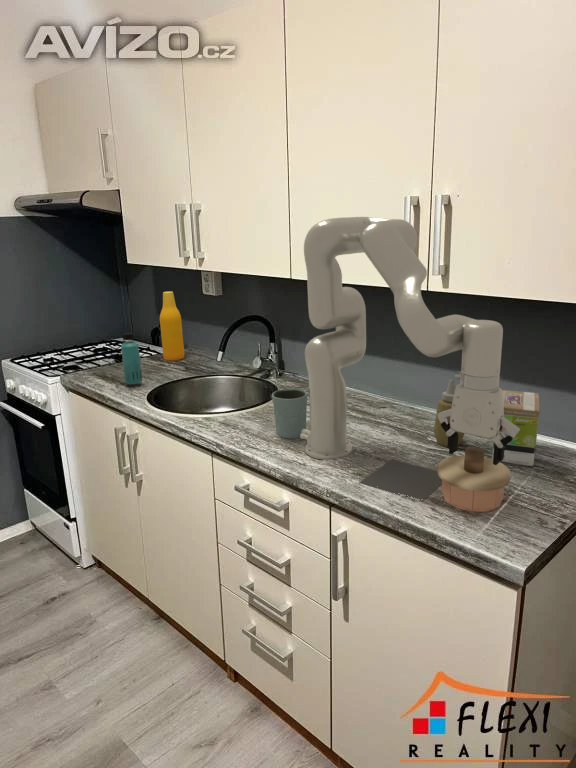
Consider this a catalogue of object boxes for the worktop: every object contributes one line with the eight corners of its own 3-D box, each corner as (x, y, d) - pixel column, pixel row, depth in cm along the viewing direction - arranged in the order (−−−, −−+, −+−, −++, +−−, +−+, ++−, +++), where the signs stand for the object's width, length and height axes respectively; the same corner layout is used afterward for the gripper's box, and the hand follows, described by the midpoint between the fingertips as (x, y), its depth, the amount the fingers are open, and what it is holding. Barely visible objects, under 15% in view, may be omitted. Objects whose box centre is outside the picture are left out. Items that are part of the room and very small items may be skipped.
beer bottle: (163, 356, 262) (157, 291, 253) (184, 354, 263) (179, 290, 254) (163, 361, 253) (156, 294, 244) (184, 359, 254) (179, 293, 246)
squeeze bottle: (427, 444, 158) (429, 380, 153) (443, 436, 164) (446, 374, 158) (454, 452, 153) (457, 386, 147) (469, 443, 158) (473, 379, 153)
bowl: (434, 502, 128) (435, 477, 126) (456, 482, 137) (458, 458, 135) (488, 519, 120) (490, 492, 119) (508, 496, 129) (511, 471, 128)
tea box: (534, 467, 143) (540, 410, 139) (491, 462, 147) (495, 406, 142) (534, 444, 156) (539, 391, 152) (494, 440, 160) (498, 388, 156)
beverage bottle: (132, 389, 216) (126, 335, 210) (121, 386, 220) (115, 333, 214) (146, 384, 221) (141, 332, 215) (135, 381, 225) (129, 330, 219)
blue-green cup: (296, 441, 163) (295, 401, 159) (266, 435, 168) (264, 395, 165) (314, 429, 171) (313, 390, 168) (285, 424, 176) (283, 386, 173)
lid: (425, 478, 126) (426, 454, 124) (454, 454, 137) (455, 432, 135) (495, 497, 117) (497, 471, 115) (519, 470, 128) (522, 446, 126)
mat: (358, 484, 137) (358, 482, 137) (392, 460, 149) (392, 459, 149) (421, 503, 127) (421, 501, 127) (452, 476, 139) (452, 475, 139)
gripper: (432, 378, 123) (429, 453, 128) (516, 392, 113) (509, 473, 118) (447, 370, 129) (444, 442, 134) (528, 383, 118) (521, 460, 123)
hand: (474, 457), depth 126 cm, fingers open, 9 cm apart
